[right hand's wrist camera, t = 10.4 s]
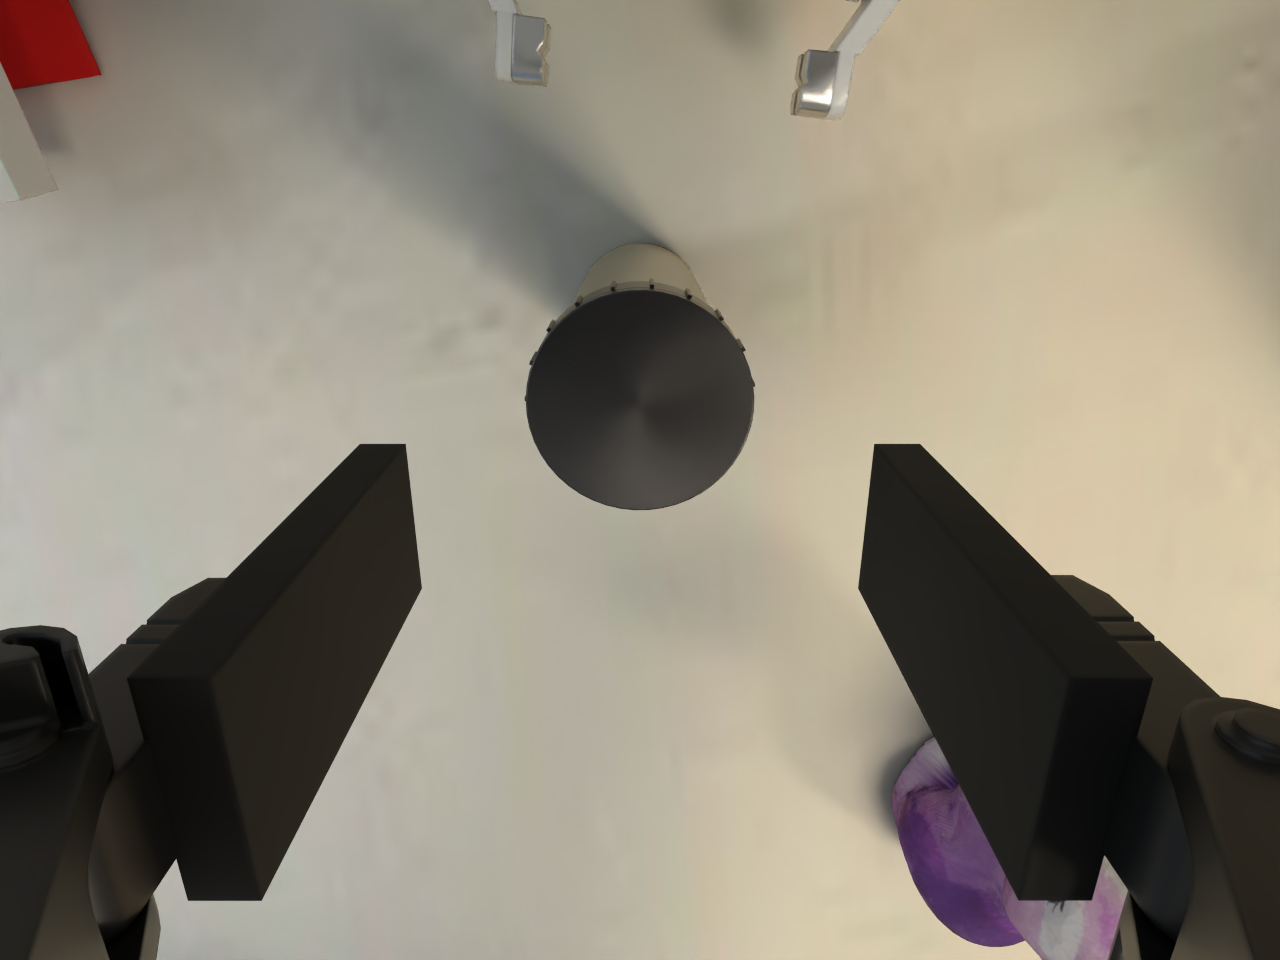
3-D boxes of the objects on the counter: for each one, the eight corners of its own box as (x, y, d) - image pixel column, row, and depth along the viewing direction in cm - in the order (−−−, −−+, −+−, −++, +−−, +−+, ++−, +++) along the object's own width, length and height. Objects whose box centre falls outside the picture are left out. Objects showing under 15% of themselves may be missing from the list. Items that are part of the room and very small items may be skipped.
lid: (772, 301, 21) (783, 311, 19) (723, 506, 23) (728, 530, 21) (548, 258, 20) (541, 265, 19) (518, 471, 23) (509, 493, 21)
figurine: (1006, 670, 41) (1197, 935, 27) (1082, 803, 44) (1290, 1103, 30) (840, 753, 43) (937, 1041, 29) (925, 875, 46) (1050, 1188, 32)
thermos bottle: (713, 255, 34) (763, 319, 20) (687, 376, 35) (717, 509, 22) (589, 231, 33) (553, 280, 20) (570, 354, 35) (525, 477, 21)
